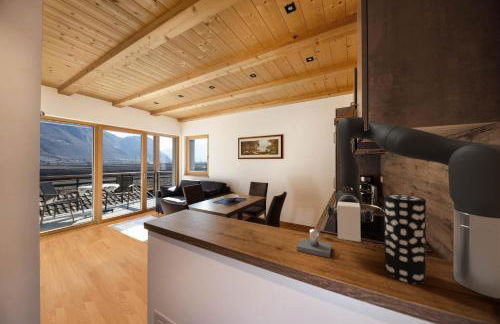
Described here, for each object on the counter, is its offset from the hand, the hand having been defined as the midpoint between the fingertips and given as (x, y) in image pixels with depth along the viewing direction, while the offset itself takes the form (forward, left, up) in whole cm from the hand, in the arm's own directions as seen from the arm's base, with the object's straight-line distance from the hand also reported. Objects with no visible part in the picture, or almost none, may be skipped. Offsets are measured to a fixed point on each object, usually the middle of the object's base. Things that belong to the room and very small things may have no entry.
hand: (348, 217), depth 57 cm
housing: (0, -2, -7) cm, 7 cm away
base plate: (+10, -2, -13) cm, 16 cm away
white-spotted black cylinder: (-13, +1, -13) cm, 18 cm away
